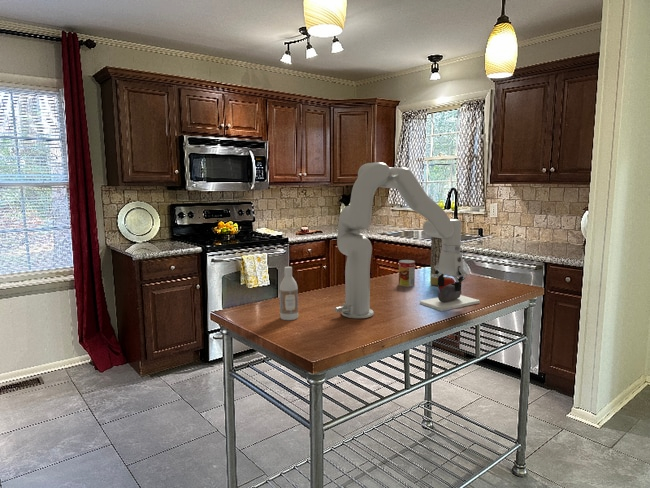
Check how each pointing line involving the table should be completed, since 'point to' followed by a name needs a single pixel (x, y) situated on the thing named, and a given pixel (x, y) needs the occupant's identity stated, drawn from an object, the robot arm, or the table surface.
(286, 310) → the bath foam
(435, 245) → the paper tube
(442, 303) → the cream board
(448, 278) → the apple
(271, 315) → the table surface
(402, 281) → the canned food
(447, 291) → the perforated stone tool
